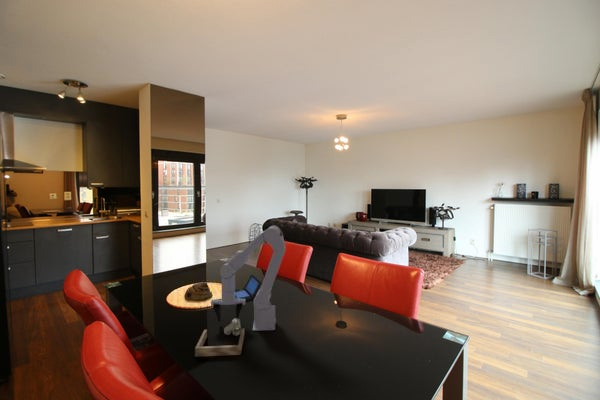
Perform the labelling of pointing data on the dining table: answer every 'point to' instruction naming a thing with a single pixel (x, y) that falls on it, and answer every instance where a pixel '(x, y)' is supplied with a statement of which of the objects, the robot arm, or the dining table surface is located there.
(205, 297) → the brown swirled mound
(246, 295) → the handheld game console
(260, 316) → the robot arm
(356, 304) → the dining table surface
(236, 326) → the pipe fitting
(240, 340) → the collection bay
